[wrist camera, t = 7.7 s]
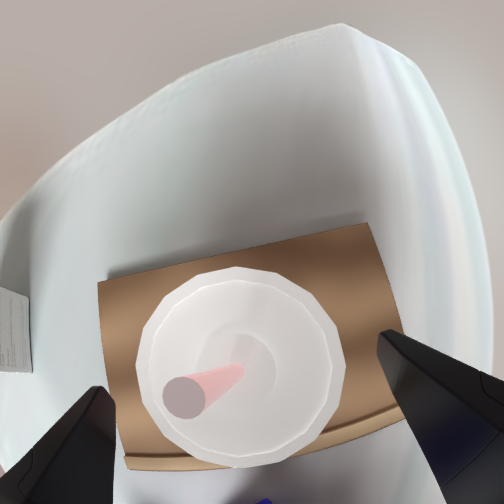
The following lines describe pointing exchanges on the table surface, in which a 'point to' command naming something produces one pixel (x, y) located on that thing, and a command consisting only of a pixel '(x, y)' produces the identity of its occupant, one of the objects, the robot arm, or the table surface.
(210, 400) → the beverage cup
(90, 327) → the table surface
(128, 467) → the board
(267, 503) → the cable clip
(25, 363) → the supplement box
